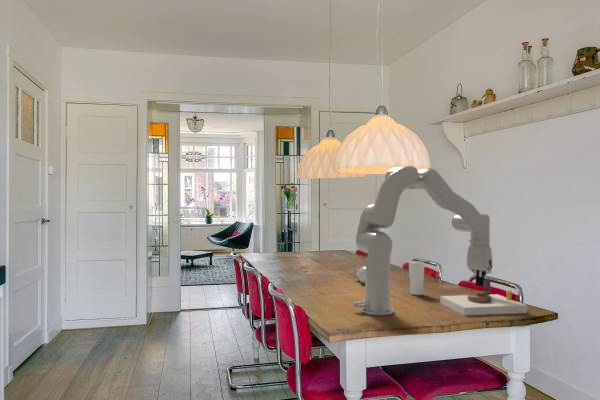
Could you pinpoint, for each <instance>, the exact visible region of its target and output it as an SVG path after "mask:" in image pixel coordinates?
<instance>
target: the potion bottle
mask: <svg viewBox="0 0 600 400" xmlns="http://www.w3.org/2000/svg"><path fill="white" fill-rule="evenodd" d="M353 278H355V279H357V280H358V281H359V282H361V283H362V284H364V285H365V265H363V266H361V267H360V268H356V269H355V271H354V275H353Z"/></svg>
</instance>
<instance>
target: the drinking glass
mask: <svg viewBox="0 0 600 400" xmlns="http://www.w3.org/2000/svg"><path fill="white" fill-rule="evenodd" d="M408 273H409V274H408V275H409V283H410V284H409V287H410V294H411V296H413V295H414V296H421V295H423V288H424V277H425V262H424V261H421V260H411V261H408Z"/></svg>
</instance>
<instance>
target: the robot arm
mask: <svg viewBox="0 0 600 400" xmlns="http://www.w3.org/2000/svg"><path fill="white" fill-rule="evenodd" d="M406 189H407V190H410V189H411V190H422V189H423V190H424V191H425V192H426V194H427V195H429V197H430V198H431V199H432V200H433V202H434V203H435V204H436V205H437V206H438V207H440V208H441V209H444V210H447V211H449V212H452V213H453V214H455V215H454V216H453V217H452V219H451V221H450V222H451V226H452V227H453V229H455V230H456V231H459V232H466V233H470V238H469V241H468V242H469V243H470V245H468V249H467V256H466V267H467V268H468V270H469V271H471V272H472V273H473V275H474V276H475V286H477V287H484V280H485V277H486V276H487V274H492V270H493V253H492V248H491V245H490V244H491V243H490V235H491V234H490V232H491V231H490V229H491V228H490V227H491V226H490V225H491V224H490V223H491V222H490V219H491V218H490V216H489V215H488V214H487V213H486V214H485V213H480V212H479V210H478V209H477V208H476V207H475V206H474V204H472V203H471V202H470V201H468V200H466V199H465V198H464V197H463V196H461V195H459V194H458V193H456V192H455V191H454V190H453V189H452V188H451V186H450V185H449V184H448V183H447V182H446V181H445V179H444V178H443V177H442V176H441V174H440V173H439V172H438V171H437V170H436V169H434V168H431V167H430V168H429V167H426V168H425V167H424V168H416V167H415V166H411V165H404V166H396V167H392V168H389V169H388V170H387V171H386V173H385V175H384V180H383V182H382V183H381V185H380V187H379V190H378V193H377V196H376V200H375V203H371V204H369V205H367V206H365V207H364V209H363V210H362V212H361V215H360V218H359V223H358V227H357V232H356V237H355V244H356V247H357V249H358V250H359V251H360V252H362V253H365V254H367V256H366V260H365V265H364V266H365V284H364V285H365V288H364V289H365V292H364V293H365V294H364V296H365V298H362V300H360V301H353V304H352V305H353V308H358V309H359V308H360V309H361V313H363V314H366V315H368V316H369V315H370V316H390V315H392V314H394V313H395V310H394V308H393V307H392V306H390V305H391V301H390V300H391V296H390V295H391V289H390V288H391V256H392V251H393V241H392V238H391V237H390V235H389V234H387V233H386V232H384V231H380V229H389V228H391V227H392V226H393V225H394V222H395V219H396V215H397V210H398V205H399V202H400V199H401V195H402V193H403V192H404V191H405V190H406Z"/></svg>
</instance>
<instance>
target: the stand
mask: <svg viewBox="0 0 600 400" xmlns="http://www.w3.org/2000/svg"><path fill="white" fill-rule="evenodd" d="M468 295H469V294H467V295H466V294H465V295H464V294H463V295H439V296H440V297H439V299H440V300H439V301H440V304H441V305H442V306H445V307H446V308H447V307H448V308H449V309H451V310H453V311H455V312H456V313H459V314H460V315H463V316H486V315H487V314H489V315H506V314H507V315H511V314H512V315H513V314H527V313H528V305H527V304H524V303H522V302H519V301H517V300H514V299H512V290H506V296H504V295H501V294H498V293H495V294H492V293H490V295H489V296H491V297H492V301H491V302H474V301H470V300H468Z"/></svg>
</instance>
